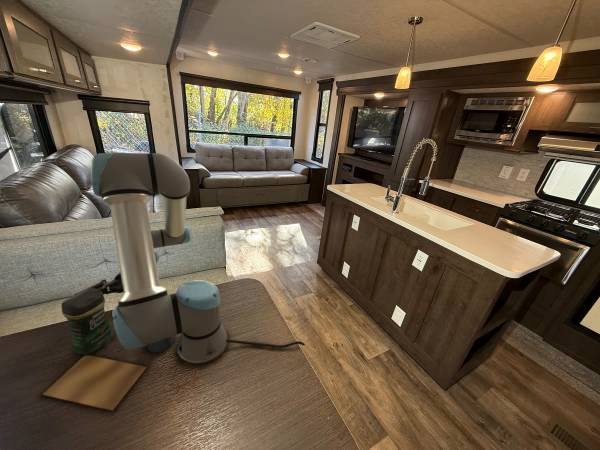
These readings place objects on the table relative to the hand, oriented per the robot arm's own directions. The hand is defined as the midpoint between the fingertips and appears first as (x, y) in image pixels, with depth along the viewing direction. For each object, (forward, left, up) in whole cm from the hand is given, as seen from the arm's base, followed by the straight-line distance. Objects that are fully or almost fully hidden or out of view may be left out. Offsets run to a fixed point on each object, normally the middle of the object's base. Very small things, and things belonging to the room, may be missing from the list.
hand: (89, 315), depth 76 cm
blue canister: (-19, -4, -10) cm, 22 cm away
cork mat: (-11, +11, -10) cm, 19 cm away
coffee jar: (0, +1, -10) cm, 10 cm away
